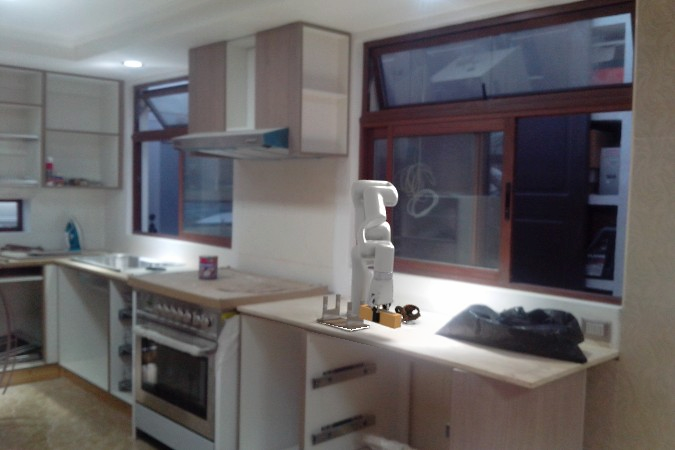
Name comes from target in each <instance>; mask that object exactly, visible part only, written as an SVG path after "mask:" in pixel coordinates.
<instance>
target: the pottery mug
mask: <svg viewBox="0 0 675 450" xmlns="http://www.w3.org/2000/svg"><path fill="white" fill-rule="evenodd" d="M414 311H417V312H416V313H413V312H414ZM394 312H395V313H398V314H401V315H402V317H403V318H404V319H402V320H403V321H408V322H412V321H417V319H419V318H421V317H422V316H421V313H420V312H421V311H420V308H419V307H418V306H416V304H415V305H414V304H408V303H407V304H405V305H403V306H400V305H397V306H395V308H394ZM402 317H401V318H402Z"/></svg>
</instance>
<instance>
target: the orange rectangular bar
mask: <svg viewBox="0 0 675 450" xmlns="http://www.w3.org/2000/svg"><path fill="white" fill-rule="evenodd" d="M376 308H377V306H376ZM379 313H380V320H379V323H376V322H373V321H372V317H373V312H372V310H371V308H370V307H369V306H368V305H367V304H366V305H361V306H360V313H359V318H361V319H364V321H368V322H371V323H375V324H378V325H381V326H384V327H387V328H389V329H394V330H395V329H398V328H399V329H400V328H401V327H402V315H401V314H398V313H396V312H395V311H391V310H389V311H388V310H384V309H381V308H380V309H379Z"/></svg>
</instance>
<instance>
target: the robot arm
mask: <svg viewBox="0 0 675 450" xmlns="http://www.w3.org/2000/svg"><path fill="white" fill-rule="evenodd" d="M350 196H351V200H352V204H353V208H354V237H355V239H356V243H357V244H356V245H354V246H353V247H352V248H351V251H350V258H351V259H350V260H351V285H350V286H351V287H350V302H352V316H355V315H359V313H360V300H365V305H366V304H367V305H368V306H369V307H370V308H371V310H372V312H373V317H372V321H373V322H372V323H374V322H376V323H375V324H377V323H379V320H380V313H379V309H380V308H381V309H384V310H388V311H390V308H391V306H392V304H393V303H394V302H395V301H394V279H393V275H394V261H395V260H394V259H395V246H394V244H393V243H392V241H391V237H392V236H391V235H392V234H391V226H390V224H389V222H387V221H386V220H387V214H386V213H387V212H386V207H395V206H396V205H397V204H398V201H399V193H398V191H397V188H396V187H395V186H394V184H393V183H391V182H390V181H386V180H375V179H374V180H372V179H368V180H367V179H359V180H354V181H353V182H352V183H351V187H350ZM369 267H373V273H372V271H370V269H369ZM376 307H377V308H376ZM345 314H346V315H347V311H346V313H345Z"/></svg>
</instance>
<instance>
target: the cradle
mask: <svg viewBox="0 0 675 450" xmlns="http://www.w3.org/2000/svg"><path fill="white" fill-rule="evenodd" d="M328 297H329V296H328V295H324V296H323V298H322V316H321V318H316V321H318V322H317V323H319V322H321V323H320V324H322V323H326V324H330V325H334V326H338V327H343V328H347V329H351V330H352V329H356V328H361V327H367V326H369V327H370V324H368V323H367V324H366V323H364V321H365V320H364V319H361V318H359V315H355V316H352V302H351V301H347V305H346V312H347V314H346V318H345V317H341V316H340V312H341V294H340V293H337V294H335V307H334V308H329V309H328V302H329V301H328V300H329V298H328ZM361 305H365V300H360V306H361ZM326 324H325V325H326Z"/></svg>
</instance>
